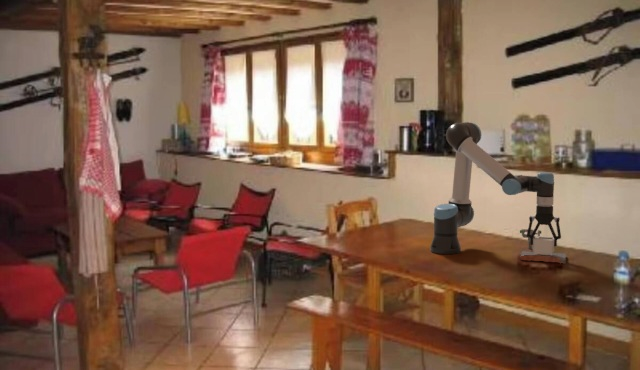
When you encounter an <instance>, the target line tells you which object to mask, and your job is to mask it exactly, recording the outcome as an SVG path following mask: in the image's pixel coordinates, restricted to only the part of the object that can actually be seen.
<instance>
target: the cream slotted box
mask: <svg viewBox="0 0 640 370" xmlns="http://www.w3.org/2000/svg"><path fill="white" fill-rule="evenodd" d="M534 236H535V239H534V254H542V255H552V242H553V239H554V237H553V236H552V237H551V236H541V235H540V236H538V235H534Z"/></svg>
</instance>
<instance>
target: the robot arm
mask: <svg viewBox="0 0 640 370" xmlns="http://www.w3.org/2000/svg"><path fill="white" fill-rule="evenodd" d="M445 137H446V141H447V143H448V144H449V145H450V146H451V148H453V149H454V151H455V160H454V161H455V162H454V170H453V183H452V194H451V198H449V200H448V203H444V204H443V203H442V204H438V205H436V206H435V207H434V211H433V238H432V241H431V243H430V246H429V247H430V252H431V253H434V254H437V255H438V254H440V255H455V254H459V253H461V252H462V251H461V249H462V248H461V243H460V240H459V237H458V228H460V227H465V226H467V225H469V224H470V223H471V222H472V221H473V219H474V216H475V210H474V208H473V206H472V200H471V199H470V191H471V190H470V189H471V180H472V179H471V178H472V167H473V164H475V165H476V166H477V167H478V168H479V169H480V170H482V171H483V172H484V173H485V174H486V175H488V176H489V177H490V178H491V179H493V181H495V182H496V183H498V185H499V186H501V189H502V191H503V193H504V194H506V195H508V196H516V195H518V194H522V193H525V192H528V193H529V192H532V193H536V208H535V209H536V211H535V213H536V214H535V215H534V216H532V215H530V216H529V218H528V219H529V223H528V228H527V229H528V232H526V234H527V237H530V238H531V245H532V252H534V239H535V238H533V237H534V236H536V234H535V233H537V232H538V230H539V227H540V226H541V225H542V226H543V225H545V226H548V228H549V230H550V233H551V235H552V237H553V242H552V253H553V254H554V253H555V247H557V245H558V240H560V239H562V235H561V234H562V233H561V228H560V217H559V216H558V217H557V216H556V217H555V216H554V206H553V205H554V190H555V175H554V174H553V173H552V172H548V171H547V172H543V171H542V172H538V173H537V175H535V176H533V175H532V176H531V175H523V174H518V175H517V174H516V175H514V174H513V173H511V172H510V171H509V170H508V169H507V168H506V167H504V166H503V165H502V164H501V163H500V162H498V160H496V159H495V158H493V156H491V155H490V154H489V153H488V152H487V151H485V150H484V149H483V148H482V147H480V146H479V145H478V143H480V141H481V139H482V130H481V128H480V127H479V126H478V124H476V123H474V122H469V121H467V122H465V121H464V122H456V123H452V124H451V125H449V127H448V128H447V130H446V134H445ZM535 220H536V222H537V224H536V225H535V228H534V229H533V230H534V231H533V233H532V235H530V231H531V230H532V226H533V222H534V221H535ZM553 221H554V222H555V225H556V232H555V230H554V227H553V225H552V222H553ZM556 233H557V234H556Z"/></svg>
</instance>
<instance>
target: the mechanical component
mask: <svg viewBox="0 0 640 370" xmlns="http://www.w3.org/2000/svg"><path fill="white" fill-rule="evenodd" d="M533 231H534V229H531V231H530V235H532V233H533ZM527 232H528V228H527V229H525V228H521V229H519V234H521V236H522V238H526V239H527V241H528V250H530V249H531V250H533V245H531V238H530V237H527ZM541 234H542V230H540V229H537V231H536V233H535V235H534V237H533V238H535V236H541Z"/></svg>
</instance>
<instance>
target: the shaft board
mask: <svg viewBox="0 0 640 370" xmlns="http://www.w3.org/2000/svg"><path fill="white" fill-rule="evenodd" d="M524 255H541V256H551V257H557V258H559V259H560V260H561V261H562V262H563V265H565V264H566V260H567V259H566V256H567V254H566V253H557V252H554V254H553V253H552V255H542V254H534V252H533V251H528V250H527V251H526V250H522V251H521V255H520V257H521V256H524Z"/></svg>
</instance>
